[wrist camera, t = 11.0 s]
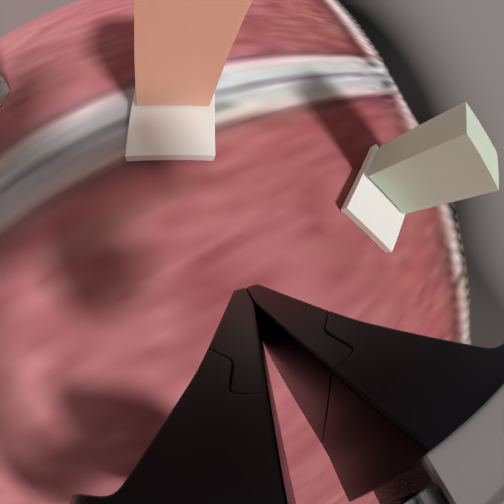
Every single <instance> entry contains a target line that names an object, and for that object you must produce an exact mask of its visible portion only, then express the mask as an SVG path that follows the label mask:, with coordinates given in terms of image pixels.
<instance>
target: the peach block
mask: <svg viewBox="0 0 504 504" xmlns="http://www.w3.org/2000/svg"><path fill="white" fill-rule="evenodd" d="M251 2H252V0H135V13H134V62H135V84H136V99H137V106H140V105H191V106H210V103H211V100H212V97H213V94H214V92H215V89H216V86H217V83H218V81H219V78H220V75H221V73H222V70H223V67H224V65H225V62H226V60H227V57H228V55H229V52H230V50H231V47H232V45H233V42H234V40H235V38H236V35H237V33H238V31H239V28H240V26H241V24H242V22H243V19H244V17H245V15H246V13H247V11H248V9H249V6H250V4H251Z"/></svg>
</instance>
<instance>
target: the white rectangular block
mask: <svg viewBox="0 0 504 504" xmlns="http://www.w3.org/2000/svg"><path fill="white" fill-rule="evenodd" d="M214 157H215V92H214V94H213V97H212V100H211V103H210V106H191V105H140V106H137V99H136V85H135V90H134V96H133V101H132V107H131V113H130V120H129V127H128V135H127V143H126V152H125V158H126V161H148V160H210V161H213V159H214Z"/></svg>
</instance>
